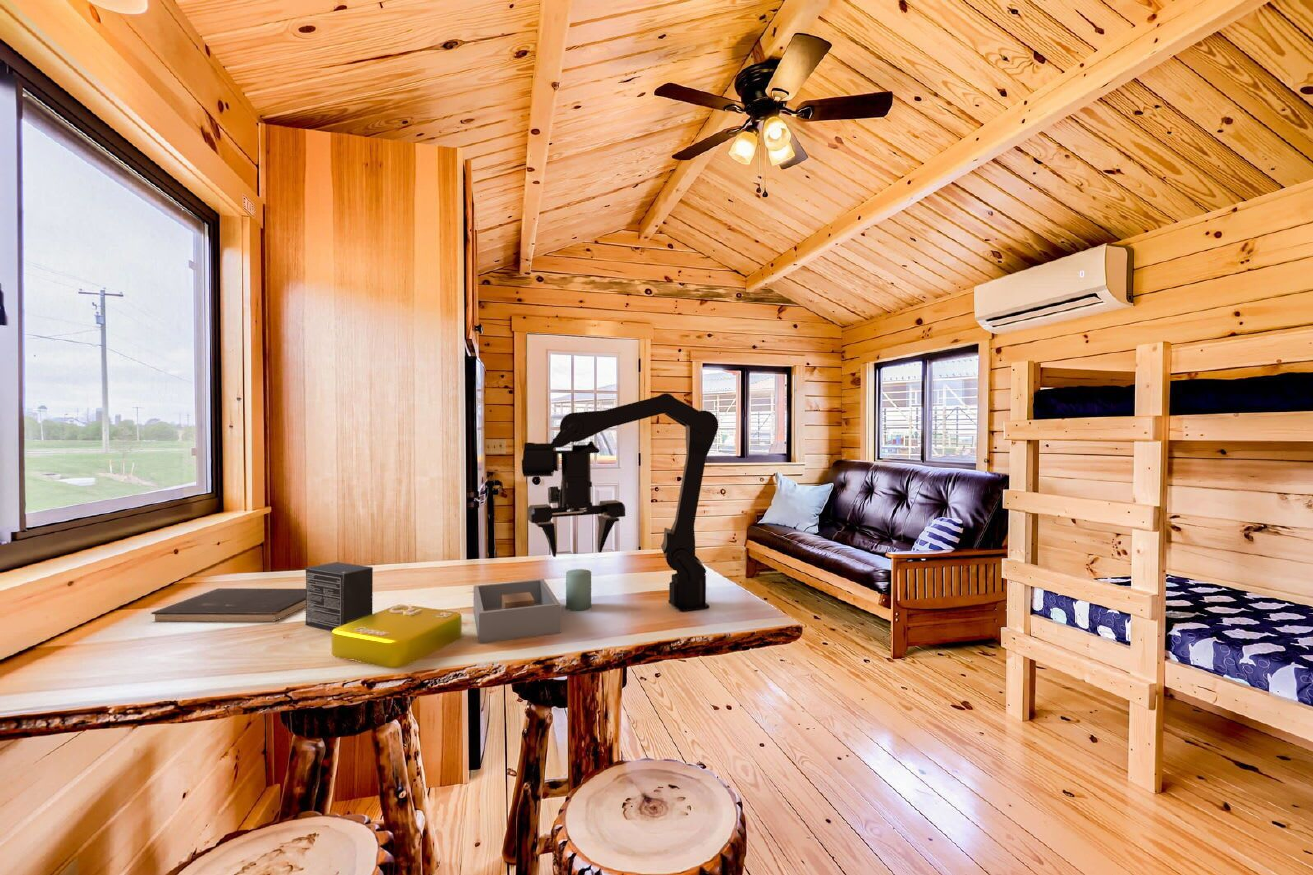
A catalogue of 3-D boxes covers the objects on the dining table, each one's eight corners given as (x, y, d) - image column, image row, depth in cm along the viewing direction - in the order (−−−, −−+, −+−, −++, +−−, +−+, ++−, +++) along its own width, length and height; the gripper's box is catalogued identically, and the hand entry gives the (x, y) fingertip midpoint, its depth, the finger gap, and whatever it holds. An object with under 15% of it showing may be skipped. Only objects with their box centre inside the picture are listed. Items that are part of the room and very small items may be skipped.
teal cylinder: (587, 602, 115) (587, 568, 115) (593, 609, 110) (594, 574, 110) (563, 604, 113) (563, 570, 113) (568, 612, 109) (568, 576, 108)
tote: (543, 603, 114) (543, 579, 114) (560, 632, 98) (560, 604, 98) (473, 611, 109) (473, 585, 109) (479, 643, 93) (479, 613, 93)
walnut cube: (529, 619, 103) (529, 592, 103) (534, 628, 98) (534, 599, 98) (501, 622, 101) (501, 594, 101) (504, 631, 96) (504, 603, 96)
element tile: (325, 657, 88) (325, 627, 88) (400, 626, 102) (400, 600, 102) (398, 672, 82) (398, 640, 82) (466, 637, 96) (466, 609, 96)
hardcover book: (274, 625, 103) (274, 612, 103) (151, 624, 103) (151, 612, 103) (327, 598, 119) (327, 587, 119) (220, 598, 119) (220, 587, 119)
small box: (375, 622, 103) (375, 565, 102) (342, 634, 97) (342, 574, 97) (337, 614, 107) (337, 560, 107) (303, 625, 101) (303, 567, 101)
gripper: (609, 471, 122) (610, 542, 122) (522, 475, 115) (523, 550, 115) (625, 475, 111) (626, 553, 112) (531, 479, 104) (532, 562, 105)
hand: (577, 554), depth 111 cm, fingers open, 9 cm apart
